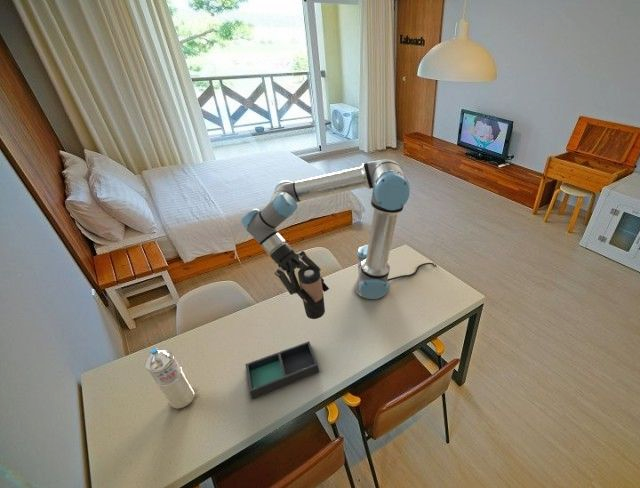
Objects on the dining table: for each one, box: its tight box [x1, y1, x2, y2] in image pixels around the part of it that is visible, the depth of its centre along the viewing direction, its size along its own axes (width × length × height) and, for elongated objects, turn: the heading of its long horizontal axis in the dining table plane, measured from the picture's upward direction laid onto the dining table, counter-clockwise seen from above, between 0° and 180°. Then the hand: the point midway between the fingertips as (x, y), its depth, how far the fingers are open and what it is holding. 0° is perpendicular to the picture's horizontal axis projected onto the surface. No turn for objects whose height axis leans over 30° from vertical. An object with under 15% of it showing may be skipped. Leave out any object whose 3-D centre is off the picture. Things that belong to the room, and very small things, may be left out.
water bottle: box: [144, 347, 196, 410], centre depth 97 cm, size 7×7×25 cm
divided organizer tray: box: [245, 340, 320, 400], centre depth 113 cm, size 22×12×4 cm, turn 118°
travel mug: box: [297, 265, 326, 320], centre depth 117 cm, size 8×8×20 cm
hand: (320, 296), depth 116 cm, fingers closed on travel mug, 7 cm apart
